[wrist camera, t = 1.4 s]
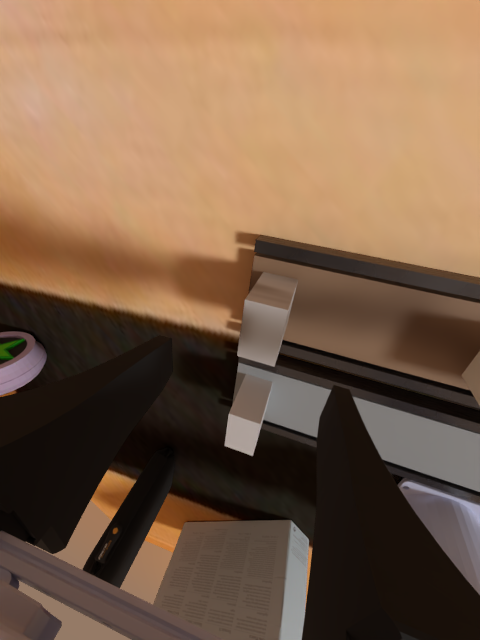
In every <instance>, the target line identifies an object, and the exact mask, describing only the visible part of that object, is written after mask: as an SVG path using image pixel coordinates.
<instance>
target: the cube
mask: <svg viewBox="0 0 480 640" xmlns="http://www.w3.org/2000/svg"><path fill="white" fill-rule="evenodd" d="M462 377H463V379H464V380H465V382H466V384H467V385H468V387H469V389H470V391H471V392H472V394H473V396H474V397H475V399H476V401H477V402H478V404H479V406H480V351H479V352H478V354H477V355H476V356H475V358H474V359H473V360H472V362H471V363H470V364H469V366H468V367H467V368H466V370H465V371H464V372H463V374H462Z"/></svg>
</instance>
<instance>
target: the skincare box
mask: <svg viewBox="0 0 480 640" xmlns="http://www.w3.org/2000/svg"><path fill="white" fill-rule="evenodd" d="M308 546H309V539H308V538H307V537H306V536H305V535H304V534H303V533H302V532H301V530H300V529H299V528H298V527H297V526H296V525H295V524H294V523H293V522H292V520H253V521H216V522H185V523H184V525H183V528H182V531H181V534H180V536H179V539H178V542H177V544H176V547H175V550H174V552H173V555H172V558H171V560H170V563H169V566H168V568H167V570H166V572H165V575H164V578H163V580H162V583H161V585H160V588H159V590H158V593H157V596H156V598H155V601H154V604H153V605H154V606H156V607H158V608H161V609H163V610H165V611H167V612H169V613H171V614H173V615H175V616H177V617H179V618H181V619H183V620H185V621H187V622H189V623H191V624H193V625H195V626H197V627H199V628H201V629H203V630H205V631H207V632H209V633H211V634H213V635H216V636H218V637H220V638H222V639H224V640H302V633H303V625H304V618H305V603H306V584H307V564H308Z"/></svg>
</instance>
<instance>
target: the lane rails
mask: <svg viewBox="0 0 480 640" xmlns="http://www.w3.org/2000/svg"><path fill="white" fill-rule="evenodd" d="M254 252H257V253H262V254H267V255H271V256H276V257H281V258H286V259H290V260H295V261H300V262H305V263H309V264H314V265H319V266H324V267H328V268H333V269H338V270H343V271H347V272H352V273H357V274H362V275H366V276H371V277H376V278H381V279H385V280H390V281H395V282H400V283H404V284H409V285H414V286H419V287H423V288H428V289H433V290H438V291H442V292H447V293H452V294H457V295H462V296H466V297H471V298H476V299H480V278H477V277H472V276H467V275H462V274H457V273H452V272H447V271H442V270H437V269H432V268H427V267H421V266H416V265H411V264H406V263H401V262H396V261H391V260H386V259H381V258H376V257H371V256H365V255H360V254H355V253H350V252H345V251H340V250H335V249H330V248H325V247H320V246H315V245H309V244H304V243H299V242H294V241H289V240H284V239H279V238H274V237H269V236H264V235H260V236H259V237H258V238H257V239H256V243H255V250H254ZM279 352H280V353H284V354H287V355H291V356H294V357H298V358H301V359H305V360H308V361H312V362H316V363H319V364H323V365H326V366H330V367H333V368H337V369H341V370H344V371H348V372H351V373H355V374H358V375H362V376H365V377H369V378H373V379H376V380H380V381H383V382H387V383H390V384H394V385H398V386H401V387H405V388H408V389H412V390H415V391H419V392H422V393H426V394H430V395H433V396H437V397H440V398H444V399H447V400H451V401H455V402H458V403H462V404H465V405H469V406H472V407H476V408H479V409H480V406H479V404H478V402H477V401H476V399H475V397H474V396H473V394H472V392H471V391H470V390H467V389H463V388H459V387H456V386H452V385H448V384H444V383H441V382H437V381H433V380H430V379H426V378H422V377H419V376H415V375H411V374H408V373H404V372H400V371H396V370H393V369H389V368H385V367H382V366H378V365H374V364H371V363H367V362H363V361H360V360H356V359H352V358H348V357H345V356H341V355H337V354H334V353H330V352H326V351H323V350H319V349H315V348H312V347H308V346H304V345H300V344H297V343H293V342H289V341H286V340H282V344H281V347H280V350H279ZM238 361H239V362H242V363H245V364H249V365H252V366H255V367H259V368H262V369H266V370H269V371H272V372H276V373H279V374H282V375H286V376H289V377H293V378H296V379H299V380H303V381H306V382H309V383H313V384H316V385H320V386H323V387H326V388H330V389H332V387H333V385H336V386H339V387H343V388H346V389H349V390H350V392H351V394H352V395H353V396H357V397H360V398H363V399H367V400H370V401H374V402H377V403H380V404H384V405H387V406H390V407H394V408H397V409H400V410H404V411H407V412H411V413H414V414H417V415H421V416H424V417H427V418H431V419H434V420H438V421H441V422H444V423H448V424H451V425H454V426H458V427H461V428H465V429H468V430H471V431H475V432H478V433H480V411H477V410H474V409H470V408H466V407H463V406H459V405H456V404H452V403H449V402H445V401H442V400H438V399H435V398H431V397H428V396H424V395H420V394H417V393H413V392H410V391H406V390H403V389H399V388H396V387H392V386H389V385H385V384H381V383H378V382H374V381H371V380H367V379H364V378H360V377H357V376H353V375H350V374H346V373H343V372H339V371H335V370H332V369H328V368H325V367H321V366H318V365H314V364H311V363H307V362H304V361H300V360H297V359H293V358H289V357H286V356H282V355H279V354H278V357H277V360H276V363H275V367H273V366H270V365H266V364H263V363H260V362H256V361H253V360H249V359H246V358H243V357H239V360H238ZM261 429H264V430H267V431H270V432H273V433H275V434H278V435H281V436H284V437H287V438H290V439H293V440H296V441H299V442H302V443H305V444H308V445H311V446H313V447H316V448H317V437H314V436H311V435H308V434H305V433H302V432H299V431H296V430H293V429H290V428H287V427H284V426H281V425H278V424H275V423H272V422H269V421H266V420H263V422H262V426H261ZM383 461H384V463H385V465H386V467H387V469H388V470H389V472H390V473H392V474H395V475H398V476H401V477H404V478H407V479H410V480H413V481H416V482H419V483H422V484H425V485H428V486H431V487H433V488H436V489H439V490H442V491H445V492H448V493H451V494H454V495H457V496H460V497H463V498H466V499H469V500H471V501H474V502H477V503H480V492H478V491H475V490H472V489H469V488H466V487H463V486H460V485H457V484H454V483H451V482H448V481H445V480H442V479H439V478H436V477H433V476H430V475H427V474H424V473H421V472H418V471H415V470H412V469H409V468H406V467H403V466H400V465H397V464H394V463H391V462H388V461H385V460H383Z"/></svg>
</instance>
